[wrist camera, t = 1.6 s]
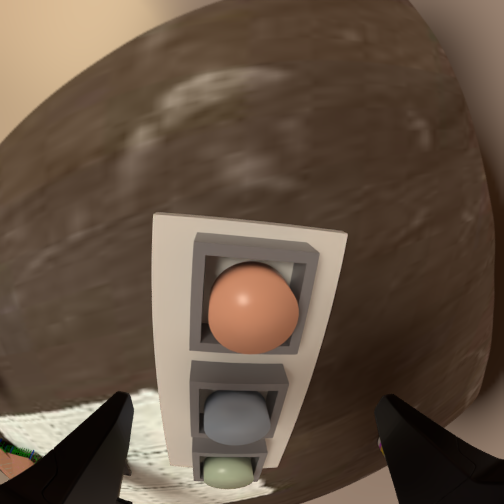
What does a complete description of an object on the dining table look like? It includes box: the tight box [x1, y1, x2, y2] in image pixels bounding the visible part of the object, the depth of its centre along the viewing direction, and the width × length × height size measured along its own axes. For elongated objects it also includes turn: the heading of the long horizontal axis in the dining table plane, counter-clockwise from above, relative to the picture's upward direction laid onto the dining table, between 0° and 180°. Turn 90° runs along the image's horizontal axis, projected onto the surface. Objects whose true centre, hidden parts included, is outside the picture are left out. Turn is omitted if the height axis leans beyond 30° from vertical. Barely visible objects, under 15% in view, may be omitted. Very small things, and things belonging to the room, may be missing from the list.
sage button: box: [204, 457, 254, 489], centre depth 21 cm, size 5×5×2 cm
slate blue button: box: [204, 390, 271, 445], centre depth 19 cm, size 5×5×2 cm
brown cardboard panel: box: [0, 438, 42, 479], centre depth 25 cm, size 23×33×8 cm
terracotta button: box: [208, 261, 299, 354], centre depth 16 cm, size 5×5×2 cm
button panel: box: [152, 212, 348, 482], centre depth 21 cm, size 29×13×4 cm, turn 173°
